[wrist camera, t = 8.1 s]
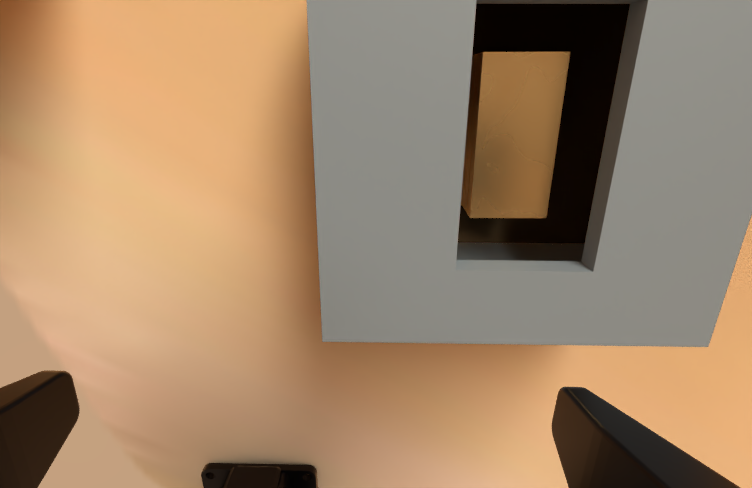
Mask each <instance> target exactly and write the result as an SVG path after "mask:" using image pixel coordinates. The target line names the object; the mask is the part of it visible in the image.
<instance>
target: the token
mask: <svg viewBox="0 0 752 488" xmlns="http://www.w3.org/2000/svg"><path fill="white" fill-rule="evenodd" d="M569 58H570V52H482V53H479V54H476V55H472V65H471V78H470V91H469V104H468V117H467V130H466V142H465V155H464V168H463V181H462V194H461V205H462V206H463V208H464V209H465V211H466V212H467V214H468V215H469V217H470V218H546V217H547V210H548V203H549V196H550V189H551V182H552V176H553V169H554V162H555V155H556V148H557V141H558V134H559V127H560V120H561V113H562V106H563V99H564V92H565V85H566V78H567V71H568V65H569Z"/></svg>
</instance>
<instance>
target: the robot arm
mask: <svg viewBox="0 0 752 488" xmlns="http://www.w3.org/2000/svg"><path fill="white" fill-rule="evenodd" d="M78 416H79V403H78V399H77V395H76V391H75V387H74V383H73V379H72V376H71V375H70V374H69V373H68V372H66V371H41V372H38V373H36V374H33V375H31V376H29V377H26V378H24V379H21V380H19V381H17V382H14V383H12V384H9V385H7V386H4V387H2V388H0V488H37V487H38V486H39V484H40V483H41V481H42V479H43V478H44V476H45V474H46V473H47V471H48V469H49V467H50V466H51V464H52V462H53V461H54V459H55V457H56V456H57V454H58V452H59V450H60V449H61V447H62V445H63V444H64V442H65V440H66V439H67V437H68V435H69V434H70V432H71V430H72V428H73V427H74V425H75V423H76V421H77V419H78ZM552 434H553V438H554V441H555V445H556V448H557V451H558V454H559V457H560V461H561V464H562V467H563V470H564V474H565V477H566V480H567V483H568V487H569V488H740V487H739V486H737V485H735V484H734V483H732V482H731V481H729V480H728V479H726V478H725V477H723V476H721V475H720V474H718V473H717V472H715V471H714V470H712V469H711V468H709V467H707V466H706V465H704V464H703V463H701V462H700V461H698V460H697V459H695V458H693V457H692V456H690V455H689V454H687V453H686V452H684V451H682V450H681V449H679V448H678V447H676V446H675V445H673V444H672V443H670V442H668V441H667V440H665V439H664V438H662V437H661V436H659V435H658V434H656V433H654V432H653V431H651V430H650V429H648V428H647V427H645V426H644V425H642V424H640V423H639V422H637V421H636V420H634V419H633V418H631V417H629V416H628V415H626V414H625V413H623V412H622V411H620V410H619V409H617V408H615V407H614V406H612V405H611V404H609V403H608V402H606V401H605V400H603V399H601V398H600V397H598V396H597V395H595V394H594V393H592V392H590V391H589V390H587V389H586V388H582V387H563V388H561V389H560V390H559V392H558V396H557V400H556V405H555V410H554V415H553V420H552ZM307 474H309V475H307ZM201 476H202V481H203V486H204V488H318V483H317V470H316V468H315V467H313V466H311V465H289V464H232V463H209V464H207V465H206V466H205V467H204V469H203V471H202V475H201Z"/></svg>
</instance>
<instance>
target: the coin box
mask: <svg viewBox="0 0 752 488" xmlns="http://www.w3.org/2000/svg"><path fill="white" fill-rule="evenodd" d="M476 3H487V4H630V8H629V13H628V18H627V23H626V29H625V34H624V39H623V44H622V50H621V55H620V60H619V66H618V71H617V76H616V81H615V87H614V92H613V97H612V102H611V108H610V113H609V118H608V123H607V129H606V134H605V139H604V145H603V150H602V155H601V160H600V166H599V171H598V176H597V181H596V187H595V192H594V197H593V202H592V208H591V213H590V218H589V224H588V229H587V234H586V239H585V244H583V243H488V242H458V233H459V220H460V207H461V194H462V181H463V168H464V155H465V142H466V130H467V117H468V104H469V91H470V78H471V65H472V52H473V39H474V27H475V14H476ZM307 18H308V40H309V62H310V84H311V106H312V127H313V149H314V171H315V193H316V215H317V237H318V258H319V280H320V302H321V324H322V342H381V343H455V344H528V345H601V346H675V347H708V346H709V343H710V340H711V337H712V334H713V331H714V328H715V324H716V321H717V318H718V315H719V312H720V309H721V306H722V303H723V300H724V297H725V294H726V291H727V288H728V285H729V282H730V279H731V276H732V273H733V270H734V267H735V264H736V261H737V258H738V255H739V252H740V249H741V245H742V242H743V239H744V236H745V233H746V230H747V227H748V224H749V221H750V218H751V215H752V0H307Z"/></svg>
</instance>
